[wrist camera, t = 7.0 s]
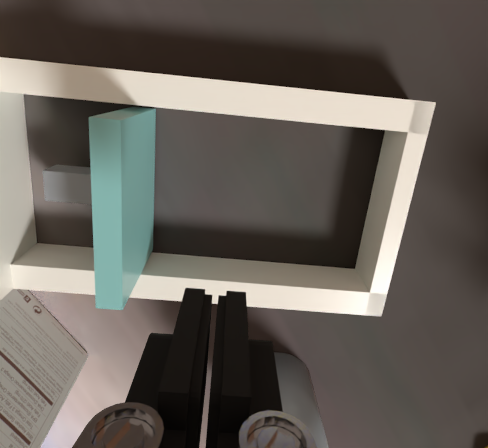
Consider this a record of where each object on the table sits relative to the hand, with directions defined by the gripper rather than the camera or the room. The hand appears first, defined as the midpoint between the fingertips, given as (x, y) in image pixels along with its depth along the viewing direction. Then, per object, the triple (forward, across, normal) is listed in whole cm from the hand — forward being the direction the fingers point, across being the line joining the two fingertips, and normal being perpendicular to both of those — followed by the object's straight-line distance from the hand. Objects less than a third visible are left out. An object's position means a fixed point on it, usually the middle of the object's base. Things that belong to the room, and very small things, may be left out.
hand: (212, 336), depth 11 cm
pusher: (+13, +7, -1) cm, 15 cm away
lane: (+13, +1, -1) cm, 13 cm away
